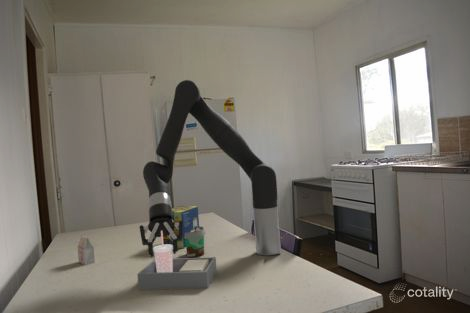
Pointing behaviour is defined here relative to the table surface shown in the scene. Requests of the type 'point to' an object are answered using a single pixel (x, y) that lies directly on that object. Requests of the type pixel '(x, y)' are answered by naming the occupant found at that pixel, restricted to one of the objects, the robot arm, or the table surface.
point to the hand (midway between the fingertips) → (163, 253)
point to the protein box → (189, 221)
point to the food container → (195, 242)
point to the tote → (176, 276)
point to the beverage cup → (163, 257)
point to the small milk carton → (85, 251)
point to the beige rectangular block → (195, 265)
